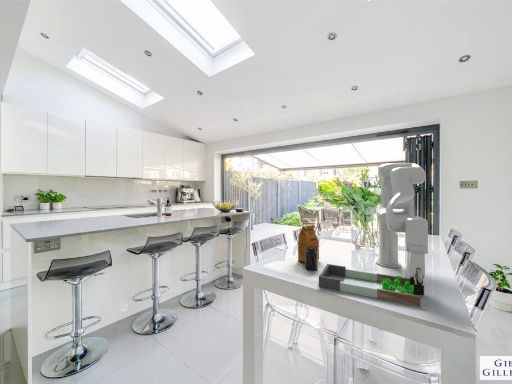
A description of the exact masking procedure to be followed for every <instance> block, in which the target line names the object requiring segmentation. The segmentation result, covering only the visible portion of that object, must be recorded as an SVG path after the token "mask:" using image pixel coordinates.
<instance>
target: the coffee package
mask: <svg viewBox="0 0 512 384" xmlns="http://www.w3.org/2000/svg"><path fill="white" fill-rule="evenodd" d="M315 227H316V226H315V224H313V225H304V226H302V228H301V229H300V231H299V233H298V237H297V238H298V239H297V261H298V262H303V263H305V252H306V251H307V247H308V246H314V247H316V251H315V252H317V254H318V261H319V260H320V249H319V248H320V242H319V238H318V236H317V234H316V232H315Z"/></svg>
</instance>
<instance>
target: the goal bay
mask: <svg viewBox="0 0 512 384" xmlns="http://www.w3.org/2000/svg"><path fill="white" fill-rule="evenodd" d="M345 277H348V278H354V279H361V280H366V281H373V282H377V272H370V271H364V270H358V269H351V268H346V269H345ZM339 292H343V293H349V294H354V295H360V296H365V297H370V298H373V299H374V298H375V299H378V298H377V287H372V286H367V285H361V284H356V283H355V284H354V283H351V282H350V283H349V282H344V281H343V282H340V291H339Z"/></svg>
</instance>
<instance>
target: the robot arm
mask: <svg viewBox="0 0 512 384" xmlns="http://www.w3.org/2000/svg"><path fill="white" fill-rule="evenodd" d="M377 172H378V173H377V174H378V179H379V181H380V185H381V189H380V190H381V191H380V204H381V207H382V208H384V209H385V210H382V211H379V212H378V213H377V217H376V218H377V224H378V235H379V236H378V240H379V241H378V244H379V245H378V246H379V247H378V249H379V250H378V257H379V259H377V260H376V262H375V263H376V264H377V265H378V266H381V267H385V268H391V269H393V268H394V269H398V268H399V269H400V268H401V267H402V264H401V262H399V235H398V233H405V234H404V236H405V240H404V241H405V242H404V244H405V247H404V248H405V251H406V252H407V261H406V262H407V263H406V271H407V272H406V273H407V274H408V276H409V278H410V284H411V285H414V286H413V287H414V294H415V295H419V296H420V297H424V296H425V283H424V280H425V278H426V256H425V255H426V254H429V235H428V234H429V232H428V231H429V228H428V226H429V223H428V220H427V219H426V218H423V217H422V216H419V215H414V208H415V207H414V206H415V202H414V201H415V200H414V198H415V196H416V194H415V190H414V186H413V185H421V184H423V183H424V182H425V181H426V171H425V170H424V168H423V167H422V166H420V165H418V164H416V163H414V162H397V163H396V162H395V163H394V162H393V163H384V164H381V165H379V167H378V171H377Z"/></svg>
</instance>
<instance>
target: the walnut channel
mask: <svg viewBox="0 0 512 384" xmlns="http://www.w3.org/2000/svg"><path fill="white" fill-rule="evenodd" d="M376 273H377V272H376ZM397 276H398V275H397ZM397 276H396V275H395V276H394V275H392V274H383V273H377V281H376V282H377V283H381V282H383V280H384V279H385V280H386V279H389V280H390V281H391V282H392V284H393V285H394V280H395V279H398V278H397ZM402 277H403V276H402ZM385 280H384V281H385ZM398 281H399V279H398ZM407 281H409V282H410V277H403V279H400V287H401V286H402V287H404V285H405V283H406V282H407ZM391 282H390V283H391ZM412 287H414V286H412ZM412 287H411V288H412ZM376 288H377V287H376ZM421 297H422V296H420V295H419V296H417V295H412V294H410V293H409V294H408V293H407V292H406V293H401V292H400V291H396V290H395V291H389V290H384V289H382V288H381V289H380V288H377V298H376V299H380V300H385V301H389V302H395V303H399V304H405V305H410V306H414V307H419V308H421Z"/></svg>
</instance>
